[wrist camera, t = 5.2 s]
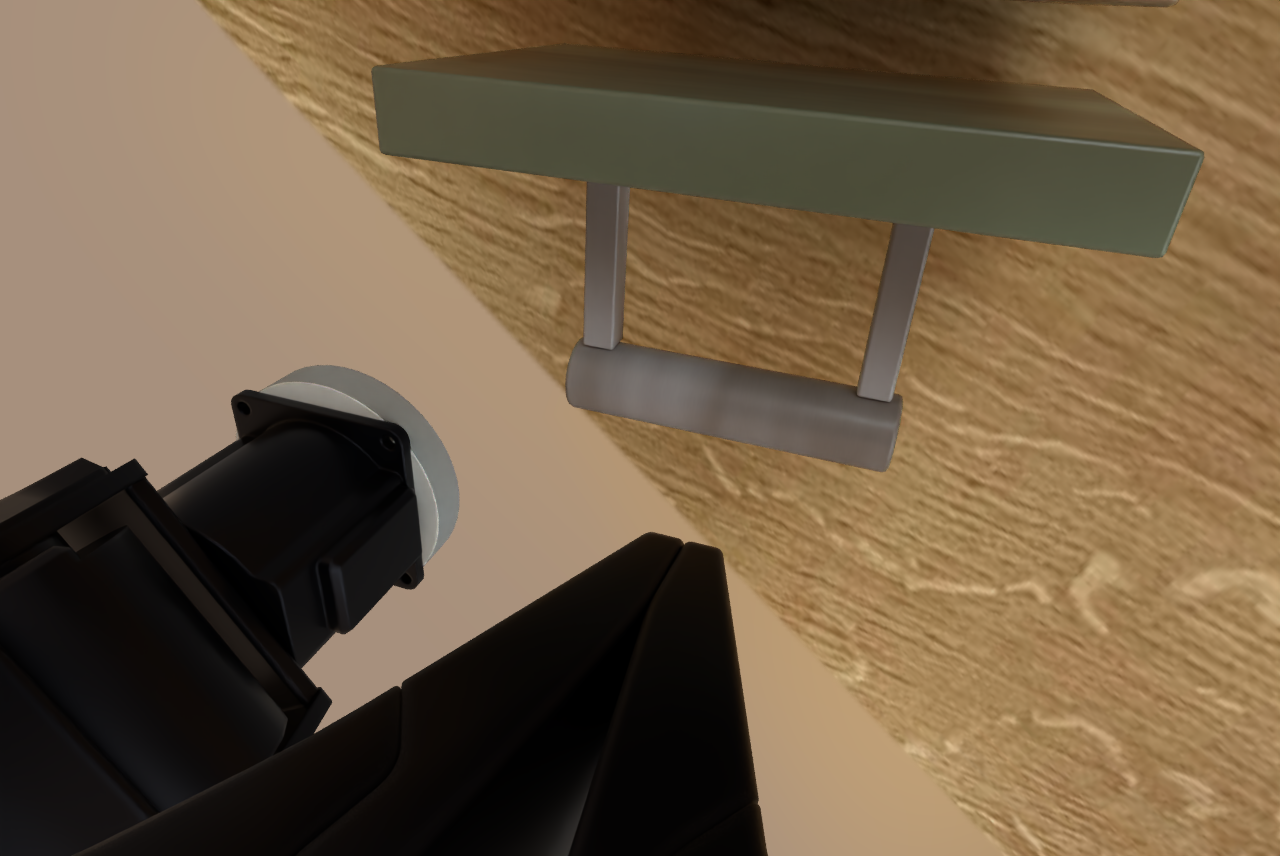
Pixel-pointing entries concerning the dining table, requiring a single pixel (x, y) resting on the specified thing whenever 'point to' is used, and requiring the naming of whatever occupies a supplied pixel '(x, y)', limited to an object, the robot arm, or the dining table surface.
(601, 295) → the drawer
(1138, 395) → the dining table surface
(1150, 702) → the dining table surface
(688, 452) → the dining table surface
